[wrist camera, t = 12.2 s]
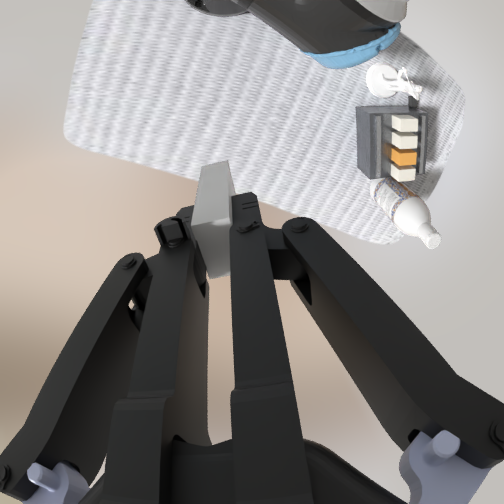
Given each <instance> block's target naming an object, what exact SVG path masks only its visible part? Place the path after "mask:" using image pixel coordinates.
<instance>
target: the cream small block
mask: <svg viewBox="0 0 504 504" xmlns="http://www.w3.org/2000/svg"><path fill="white" fill-rule="evenodd" d="M415 172H416V169H415V168H414V167H413V166H411V165H403V166H399V165H398V164H391V176H392V177H393V178H395V179H396V180H397V181H398V182H402V181H412V180H415Z"/></svg>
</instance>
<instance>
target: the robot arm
mask: <svg viewBox="0 0 504 504" xmlns="http://www.w3.org/2000/svg"><path fill="white" fill-rule="evenodd" d="M185 1H186V2H187V3H188V4H189V5H190V6H191V7H192V8H194V9H195V10H197V11H199V12H201V13H204V14H207V15H211V16H218V17H229V16H236V15H240V14H243V13H246V12H248V11H249V12H250V13H252V14H253V15H255V16H256V17H258V18H259V19H260V20H262V21H263V22H265V23H266V24H268V25H269V26H270V27H272V28H273V29H275V30H276V31H277V32H279V33H280V34H281V35H283V36H284V37H285V38H287V39H288V40H289V41H290V42H292V43H293V44H294V45H296V46H297V47H298V48H299V49H300V51H302V52H304V54H306V55H309V56H311V57H312V58H314V59H315V60H316V61H317V62H319V63H320V64H321V65H323V66H325V67H327V68H331V69H345V68H350V67H353V66H356V65H359V64H361V63H364V62H366V61H368V60H370V59H372V58H373V57H375V56H376V55H378V52H379V51H380V50H383V49H386V48H387V47H389V46H390V45H391V44H392V43H393V42H394V41H395V40H396V38H397V37H398V35H399V33H400V28H401V25H400V23H399V22H400V21H402V20H403V19H404V18H405V17H406V10H407V9H406V8H407V1H408V0H185ZM154 230H155V232H156V235H157V238H158V240H159V242H160V245H161V247H160V251H159V254H157V255H154V256H152V257H150V258H147V259H144V256H143V255H142V254H140V253H131V254H128V255H126V256H124V257H123V258H122V259H120V260H119V261H118V262H117V264H116V265H115V266H114V268H113V269H112V271H111V272H110V274H109V275H108V277H107V278H106V280H105V281H104V283H103V284H102V286H101V287H100V289H99V290H98V292H97V293H96V295H95V297H94V298H93V300H92V301H91V303H90V305H89V306H88V308H87V309H86V311H85V313H84V314H83V316H82V317H81V319H80V321H79V322H78V324H77V326H76V327H75V329H74V331H73V333H72V334H71V336H70V337H69V339H68V341H67V343H66V344H65V346H64V348H63V350H62V351H61V354H60V355H59V357H58V359H57V360H56V362H55V364H54V366H53V368H52V370H51V371H50V373H49V376H48V377H47V379H46V381H45V383H44V385H43V387H42V389H41V391H40V393H39V395H38V397H37V399H36V401H35V403H34V405H33V407H32V409H31V411H30V414H29V416H28V418H27V420H26V422H25V424H24V426H23V427H22V428H21V429H20V431H19V432H18V433H17V435H16V436H15V437H14V438H13V439H12V441H11V442H10V443H9V445H8V446H7V447H6V449H5V450H4V451H3V452H2V454H1V455H0V492H2V493H4V494H7V495H8V496H11V497H13V498H15V499H18V500H20V501H21V502H22V503H23V504H408V503H406V502H404V501H403V500H401V499H400V498H398V497H396V496H395V495H393V494H392V493H390V492H389V491H387V490H386V489H384V488H383V487H381V486H380V485H378V484H377V483H375V482H374V481H373V480H371V479H370V478H368V477H367V476H365V475H364V474H363V473H361V472H360V471H358V470H357V469H356V468H354V467H353V466H351V465H350V464H349V463H347V462H346V461H345V460H343V459H342V458H341V457H339V456H338V455H337V454H335V453H334V452H333V451H331V450H330V449H328V448H326V447H325V446H323V445H321V444H318V443H316V442H314V441H310V440H306V439H303V436H302V431H301V425H300V419H299V414H298V408H297V402H296V397H295V391H294V385H293V380H292V374H291V369H290V363H289V358H288V353H287V348H286V342H285V337H284V331H283V326H282V321H281V316H280V310H279V305H278V300H277V295H276V289H275V284H274V279H276V280H290V283H291V285H292V287H293V288H294V290H295V291H296V293H297V295H298V296H299V297H300V299H301V301H302V302H303V304H304V305H305V307H306V308H307V310H308V311H309V312H310V314H311V316H312V317H313V319H314V320H315V322H316V324H317V325H318V326H319V328H320V330H321V331H322V333H323V334H324V336H325V337H326V339H327V340H328V342H329V343H330V345H331V347H332V348H333V350H334V351H335V353H336V354H337V356H338V357H339V359H340V360H341V362H342V363H343V365H344V367H345V368H346V370H347V371H348V373H349V374H350V376H351V377H352V379H353V381H354V382H355V384H356V385H357V387H358V388H359V390H360V391H361V393H362V394H363V396H364V398H365V399H366V401H367V402H368V404H369V406H370V407H371V409H372V410H373V412H374V414H375V415H376V417H377V418H378V420H379V421H380V423H381V425H382V426H383V428H384V429H385V431H386V432H387V433H388V434H389V436H390V437H391V439H392V440H393V441H394V442H395V443H396V444H397V445H398V446H399V447H400V448H401V450H402V451H404V453H403V455H402V456H401V459H400V462H399V471H400V474H401V476H402V478H403V479H404V480H405V482H406V483H407V484H408V486H409V489H410V492H411V497H410V502H409V504H468V503H469V501H470V500H471V498H472V497H473V495H474V494H475V493H476V491H477V489H478V488H479V486H480V485H481V483H482V482H483V480H484V479H485V477H486V476H487V474H488V472H489V471H490V470H491V468H492V467H494V466H495V465H496V464H498V463H500V462H502V461H503V460H504V404H503V403H502V402H500V401H499V400H497V399H496V398H494V397H492V396H491V395H489V394H487V393H486V392H484V391H483V390H481V389H479V388H478V387H476V386H474V385H473V384H471V383H470V382H468V381H466V380H465V379H463V378H462V377H460V376H459V375H457V374H456V373H455V371H454V370H453V369H452V368H451V367H450V365H449V364H448V363H447V362H446V361H445V359H444V358H443V357H442V356H441V355H440V353H439V352H438V351H437V350H436V349H435V347H434V346H433V345H432V344H431V343H430V342H429V341H428V340H427V338H426V337H425V336H424V335H423V334H422V332H421V331H420V330H419V329H418V328H417V327H416V326H415V325H414V323H413V322H412V321H411V320H410V319H409V318H408V317H407V316H406V314H405V313H404V312H403V311H402V310H401V309H400V308H399V307H398V306H397V305H396V304H395V303H394V301H393V300H392V299H391V298H390V297H389V296H388V295H387V294H386V293H385V292H384V290H383V289H382V288H381V287H380V286H379V285H378V284H377V283H376V282H375V281H374V280H373V279H372V278H371V277H370V276H369V275H368V274H367V273H366V272H365V270H364V269H363V268H362V267H361V266H360V265H359V264H357V262H356V261H355V260H354V259H353V258H352V257H351V256H350V255H349V254H348V253H347V252H346V251H345V250H344V249H343V248H342V247H341V246H340V245H339V244H338V243H337V242H336V241H335V240H334V239H333V238H332V237H331V236H330V235H329V234H328V233H327V232H326V231H325V230H324V229H323V228H322V227H321V226H320V225H319V224H318V223H317V222H316V221H314V220H312V219H311V218H306V217H297V218H293V219H290V220H288V221H286V222H285V223H284V224H283V226H282V229H273V228H269V227H267V226H265V225H264V224H263V222H262V219H261V214H260V210H259V204H258V200H257V196H256V195H255V194H254V193H252V192H248V193H244V194H239V195H236V193H235V188H234V184H233V180H232V176H231V172H230V168H229V163H228V160H227V161H223V162H218V163H214V164H210V165H205V166H202V168H201V173H200V178H199V184H198V189H197V194H196V200H195V205H193V206H188V207H184V208H181V210H180V211H179V212H178V213H177V214H176V216H174V217H169V218H167V219H164V220H163V221H161V222H159V223H158V224H157V225H156V226H155V228H154ZM206 270H207V273H208V276H209V278H210V279H213V278H218V277H224V276H229V275H230V276H231V304H232V331H233V352H234V353H233V354H234V374H235V388H234V390H233V391H232V392H231V399H230V403H231V404H230V406H231V427H232V439H230V440H227V441H224V442H221V443H218V444H215V445H212V443H211V441H210V438H209V435H208V427H207V425H208V423H207V362H208V312H209V311H208V310H209V284H208V282H207V279H206ZM130 300H132V301H133V303H134V307H133V308H132V309H130V308H129V306H128V305H129V302H130ZM106 454H107V455H106ZM105 456H106V464H105V473H104V474H103V475H102V476H101V477H100V479H99V480H98V481H97V482H96V483H95V484H94V486H93V487H92V488H91V489H90V488H89V486H90V485H91V483H92V482H93V481H94V479H95V477H96V476H97V474H98V472H99V470H100V468H101V466H102V464H103V461H104V459H105Z"/></svg>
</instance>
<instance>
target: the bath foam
mask: <svg viewBox="0 0 504 504" xmlns="http://www.w3.org/2000/svg"><path fill="white" fill-rule="evenodd" d="M370 195H371V197H372V199H373V200H374V201H375V202H376V203H377V205H378V206H379V207H380V208H381V209H382V210H383V212H384V213H385V214H386V215H387V216H388V218H389V219H390V220H391V221H392V222H393V224H394V225H395V226H396V227H397V228H398V229H399V230H400V231H401V232H402V233H404V234H406V235H408V236H413V237H420V239H421V240H422V241H423V242H424V243H425V245H426V246H427V247H428V248H430V249H433V248H436V247H437V246H438V245H439V244H440V242H441V235H440V234H439V233H438V232H437V231H436V230H435V228H434V227H433V226H432V225H431V217H430V212H429V209H428V207H427V205H426V204H425V203H424V201H423V200H422V199H421V198H420V197H419V196H418V195H416V194H415V193H414V192H413V191H412V190H411V189H410V188H409V187H408V186H406V185H405V184H404V183H403V182H398V181H397V180H396V179H395V178H393V177H388V178H378V179H374V180H373V181H372V183H371V185H370Z"/></svg>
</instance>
